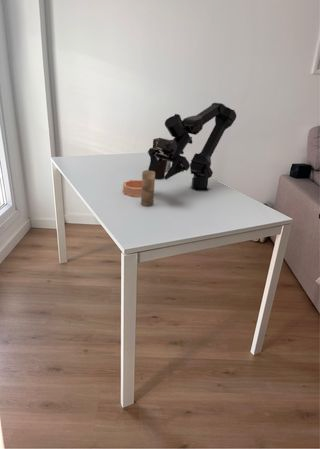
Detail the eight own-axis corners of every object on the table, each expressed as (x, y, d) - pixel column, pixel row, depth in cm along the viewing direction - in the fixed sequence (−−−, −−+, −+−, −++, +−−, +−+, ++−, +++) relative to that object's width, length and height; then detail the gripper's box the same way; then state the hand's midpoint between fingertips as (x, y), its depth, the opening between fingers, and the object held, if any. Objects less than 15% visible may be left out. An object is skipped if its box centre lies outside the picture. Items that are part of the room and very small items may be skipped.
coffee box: (150, 168, 174) (152, 138, 167) (156, 166, 179) (158, 137, 172) (164, 172, 169) (167, 141, 163) (171, 170, 174) (173, 140, 168)
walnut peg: (151, 201, 129) (153, 170, 124) (154, 206, 125) (156, 174, 120) (140, 201, 128) (141, 170, 123) (142, 206, 124) (143, 173, 118)
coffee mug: (164, 180, 156) (166, 160, 152) (147, 178, 157) (148, 158, 153) (168, 174, 166) (170, 155, 162) (152, 172, 168) (153, 153, 163)
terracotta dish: (148, 187, 145) (149, 179, 144) (153, 197, 134) (154, 189, 133) (121, 187, 143) (121, 179, 141) (124, 197, 132) (124, 189, 130)
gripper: (152, 127, 127) (130, 157, 124) (188, 135, 116) (165, 169, 113) (164, 145, 136) (144, 174, 133) (199, 154, 124) (177, 186, 122)
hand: (156, 175), depth 125 cm, fingers open, 9 cm apart
